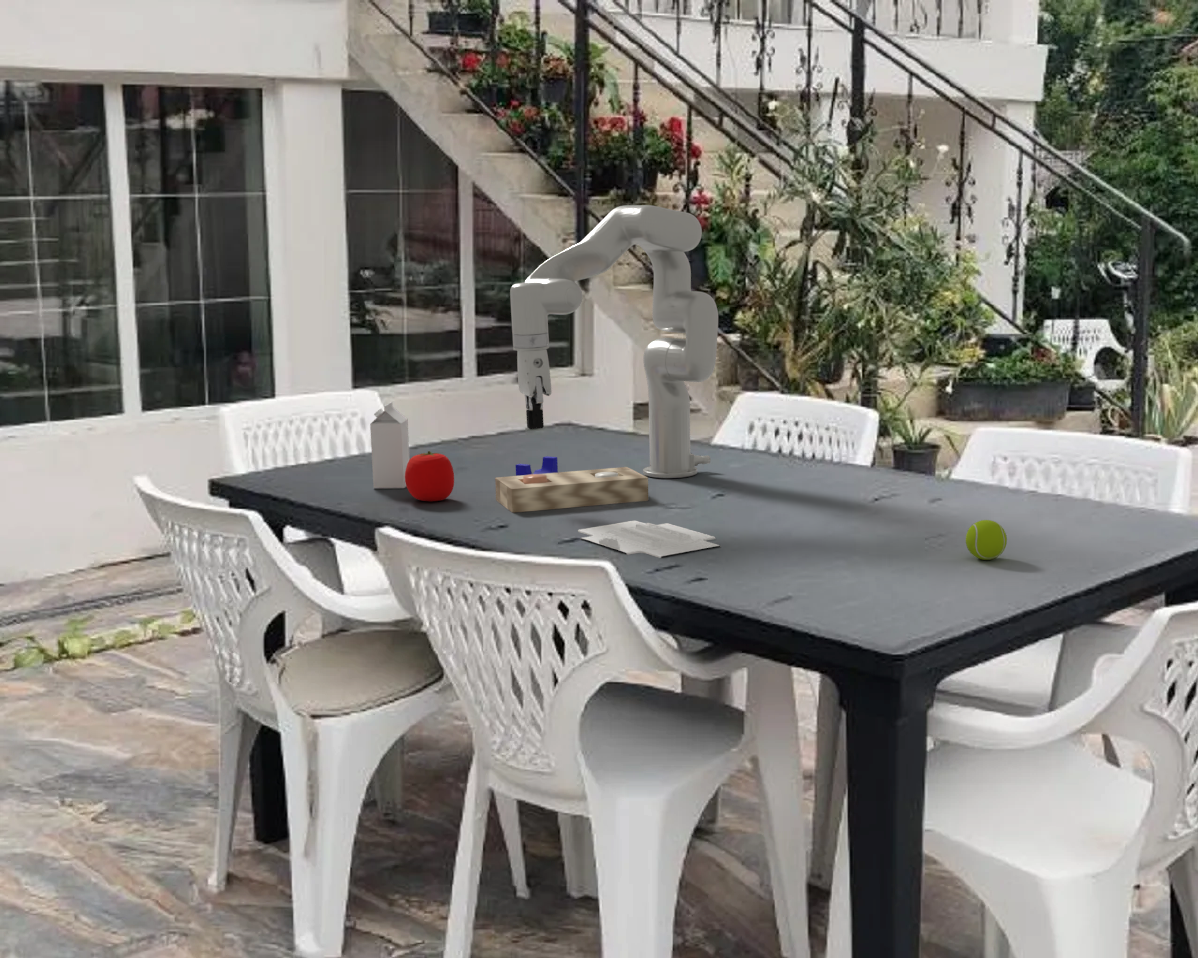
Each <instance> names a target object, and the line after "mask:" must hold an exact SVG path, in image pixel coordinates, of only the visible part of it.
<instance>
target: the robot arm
mask: <svg viewBox="0 0 1198 958" xmlns="http://www.w3.org/2000/svg"><path fill="white" fill-rule="evenodd" d="M702 233H703V230H702V225H701V223H700V221H699V219H698V218H697V217H696V216H695V215H693V214H691V213H689V212H685V211H680V210H676V209H675V210H674V209H671V208H665V207H662V206H657V205H650V204H643V205H641V204H638V205H637V204H634V205H633V204H630V205H626V204H625V205H620V206H616V207H615V208H613V209H612V210H611V211H610V212H609V213H608V214H607V215H606V216H605V217H604V218H603V219H602V220H600V222H599V223H598V224H596V226H595V227H594V228H593V229H592V230H591V231H589V233H588V234H587V235H586V236H584V238H582V240H581V241H580V242H578V243H576V244H574V245H571V246H570V247H568V248H566V249H564V250H563V251H561V252H559V253H557V254H556V255H553V256H552V257H550V258H548V259H547V260H545V261H544V262H543V263H541V264H540V265H538V267H537V268H536V269H535V270H533V272H531V274H530V275H529V276H528V277H527V278H526V279H525V281H523V282H516V283H513V284H512V286H511V287H510V290H509V291H510V292H509V296H510V298H509V299H510V313H511V314H510V315H511V316H510V317H511V332H512V346H513V347H512V350H513V351H517V353H516V354H517V356H516V359H517V361H516V362H517V363H516V364H517V382H518V383H517V385H518V390H519V392H520V393H521V394H523V395H524V398H525V409H526V412H525V414H526V428H527V429H529V430H538V429H540V430H541V429H543V428H544V407H543V405H544V404H543V403H544V395H545V396H547V397H550V396H551V395H552V393H553V392H552V391H553V390H552V380H551V370H550V369H551V368H550V361H549V356H548V349H549V348H550V338H549V324H548V323H549V321H548V318H549V317H548V316H549V315H564V316H565V315H569V314H572V313H574V312H575V311H577V310H578V309H579V307H580V306H581V304H582V302H583V290H582V288H581V287H580V285H579V284H578V283H577V282H578V281H582V280H585V279H591V278H593V277H596V276H598V275H601V274H603V273H605V272H607V271H608V270H610V269H611V268H612V266H613V265H614V264H616V262H618V260H619V259H620V258H621V257H622V256H623V255H624V254H625V253H626V252H627V251H628V250H629V249H630V248H631V247H632V246H635V245H639V247H640V248H641V249H642V250H643V251H644V252H645V254H646V255H647V256H648V258H649V260H650V262H651V265H652V269H653V289H652V290H653V292H652V310H651V311H652V323H653V325H654V326H655V328H657V329H658V330H659V331H662V332H667V333H677V334H685V339H684V338H678V337H677V338H675V337H673V338H672V337H659V338H656V339H655V340H652V341H651V342H650V343H648V344H647V345H646V347H645V349H644V352H643V359H642V360H643V367H644V372H645V376H646V377H645V378H646V382H647V390H648V391H647V393H648V394H647V395H648V428H649V429H648V430H649V431H648V433H649V434H648V435H649V436H648V437H649V438H648V439H649V466H646V467H644V468H643V469H642V472H643V474H642V475H644V476H646V477H648V478H650V477H651V478H657V479H680V478H687V477H693V476H695V475H697V474H698V468H697V466H698V465H705V464H706V465H709V464H711V461H712V460H711V456H710V455H697V454H694V453H691V417H690V416H691V400H690V393H689V391H688V389H687V386H686V383H685V382H688V383H702V382H705V381H707V380H708V379H709V378H711V376H712V375H713V373H714V371H715V367H716V362H717V361H716V360H717V349H718V348H717V347H718V335H719V334H718V329H719V311H718V308H717V304H716V301H715V299H714V298H713V297H712V296H711V295H710V294H708V293H706V292H704V291H695V290H694V291H693V290H692V289H691V288H692V281H691V280H692V279H691V277H692V273H691V272H692V270H691V264H690V262H689V259H688V257H687V255H686V252H689V251H692V250H694V249H695V248H696V247H697V246H698V245H699V243H700V242H701V239H702V235H703V234H702Z"/></svg>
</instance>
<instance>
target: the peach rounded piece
mask: <svg viewBox="0 0 1198 958" xmlns="http://www.w3.org/2000/svg"><path fill="white" fill-rule="evenodd" d="M545 482H547V476H546V475H543V474H533V473H532V474H531V475H525V476H523V483H524V484H533V483H545Z"/></svg>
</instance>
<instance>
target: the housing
mask: <svg viewBox="0 0 1198 958" xmlns="http://www.w3.org/2000/svg"><path fill="white" fill-rule="evenodd" d="M600 472H615V473H618V476H617V477H605V478H596V477H595V474H596V473H600ZM543 475H546V476H547V482H545V483H533V484H524V483H523V476H525V475H521V476H516V475H511V476H500V477H495V479H494V480H495V481H494V482H495V500H496V502H497V503H499V505H502V506H503V507H504V508H506V509H507V510H508V511H510V512H511V513H523V512H525V513H526V512H535V511H537V512H538V511H545V510H557V509H567V508H569V509H570V508H578V507H579V508H580V507H592V506H601V505H613V504H625V503H635V502H636V503H637V502H647V501H649V476H646V475H644V474H642V473H639V472H638V471H636V470H635V469H632V468H630V467H628V466H623V467H621V466H619V467H608V468H597V469H586V470H573V471H572V470H571V471H558V473H546V474H543Z"/></svg>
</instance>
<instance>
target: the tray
mask: <svg viewBox="0 0 1198 958" xmlns="http://www.w3.org/2000/svg"><path fill="white" fill-rule="evenodd" d="M577 532H578V533H580V534H583V535H585V536H583V537H580V540H586V541H590V542H592V543H595V544H598V545H602V546H605V547H607V548H610V549H614V550H616V551H617V550H618V551H620V552H623V553H626V555H627V556H629V555H634V554H646V555H650V556H652V557H656V558H659V559H661V558H662V557H666V556H671V555H677V554H682V553H686V552H693V551H698V550H702V549H707V548H708V549H709V548H713V547H718V548H719V547H720V548H722V545H721V544H720V545H719V544H716V543H713V542H710V541H711V540H716V537H715V536H714V535H709V534H706V533H703V532H699V531H695V530H692V529H690V528H685V527H682V526H679V525H674V524H671V523H668V522H666V523H660V524H654V523H651V522H641V521H638V520H629V521H623V522H622V521H621V522H618V523H612V524H611V523H610V524H605V525H598V526H593V527H587V528H580V529H578V530H577ZM586 535H587V536H586Z"/></svg>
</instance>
